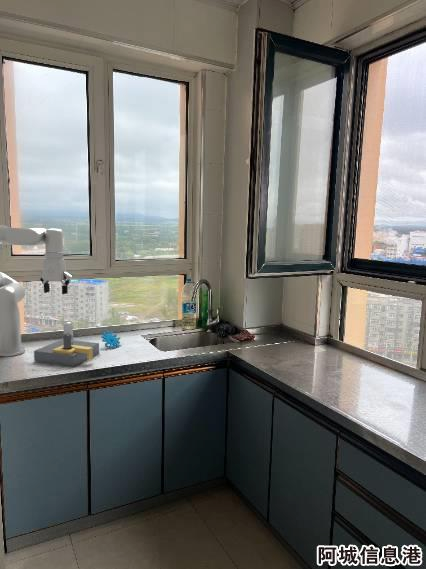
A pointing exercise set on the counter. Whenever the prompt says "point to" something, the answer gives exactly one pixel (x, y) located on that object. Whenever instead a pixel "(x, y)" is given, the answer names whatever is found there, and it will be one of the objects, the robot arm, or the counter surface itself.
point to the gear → (110, 339)
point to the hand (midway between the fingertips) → (55, 293)
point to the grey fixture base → (64, 359)
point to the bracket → (76, 350)
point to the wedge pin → (67, 341)
